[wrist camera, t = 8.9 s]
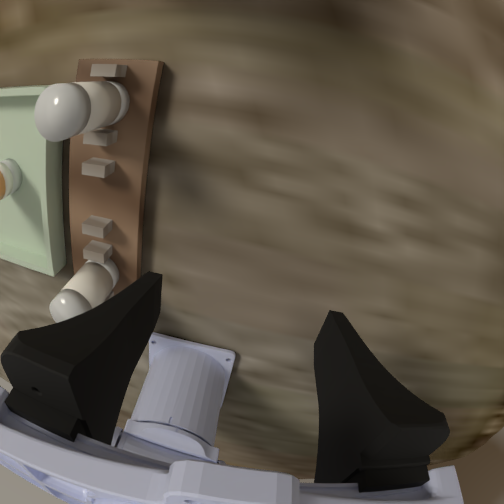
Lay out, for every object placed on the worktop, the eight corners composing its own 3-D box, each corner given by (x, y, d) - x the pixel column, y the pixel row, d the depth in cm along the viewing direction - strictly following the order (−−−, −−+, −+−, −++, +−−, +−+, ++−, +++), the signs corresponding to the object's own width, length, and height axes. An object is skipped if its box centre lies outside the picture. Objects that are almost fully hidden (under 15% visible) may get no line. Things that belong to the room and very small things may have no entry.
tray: (66, 263, 25) (54, 276, 23) (-13, 238, 25) (-25, 248, 23) (67, 84, 18) (50, 86, 16) (-20, 89, 17) (-37, 93, 15)
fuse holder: (140, 301, 26) (130, 320, 24) (81, 284, 26) (68, 300, 24) (163, 62, 17) (149, 59, 15) (86, 59, 17) (66, 58, 15)
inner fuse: (119, 290, 25) (88, 339, 19) (88, 281, 24) (53, 326, 19) (119, 259, 23) (83, 306, 18) (86, 250, 23) (46, 293, 18)
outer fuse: (126, 126, 18) (76, 144, 13) (88, 123, 18) (33, 139, 13) (132, 82, 17) (81, 83, 12) (93, 80, 17) (36, 84, 12)
